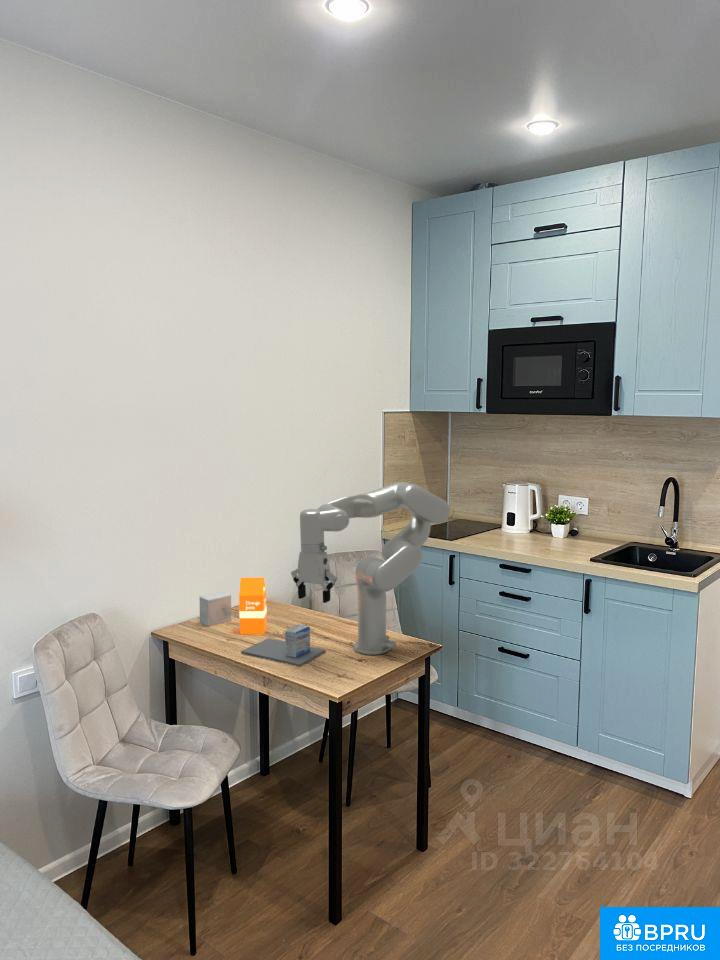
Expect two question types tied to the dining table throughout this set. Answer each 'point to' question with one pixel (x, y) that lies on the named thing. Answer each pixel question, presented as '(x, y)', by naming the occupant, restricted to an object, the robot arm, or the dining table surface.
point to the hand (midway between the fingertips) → (314, 599)
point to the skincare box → (215, 608)
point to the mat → (280, 652)
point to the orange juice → (252, 606)
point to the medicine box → (297, 641)
